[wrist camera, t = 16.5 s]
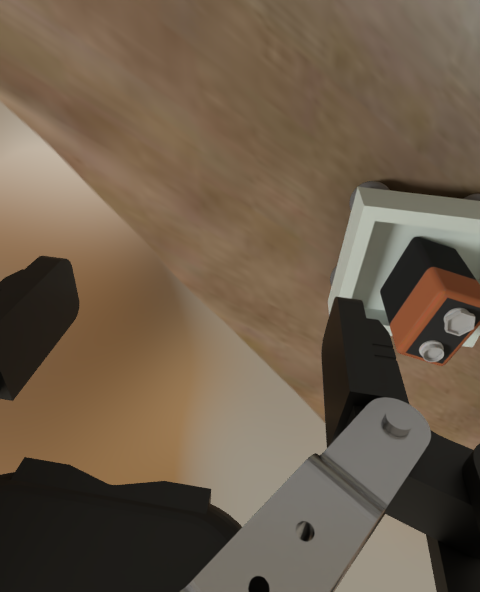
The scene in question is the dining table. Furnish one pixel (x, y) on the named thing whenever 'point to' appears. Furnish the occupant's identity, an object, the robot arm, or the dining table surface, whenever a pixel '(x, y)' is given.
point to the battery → (431, 302)
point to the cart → (399, 240)
